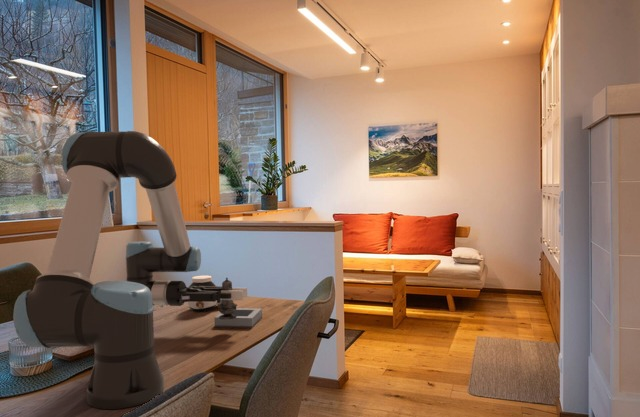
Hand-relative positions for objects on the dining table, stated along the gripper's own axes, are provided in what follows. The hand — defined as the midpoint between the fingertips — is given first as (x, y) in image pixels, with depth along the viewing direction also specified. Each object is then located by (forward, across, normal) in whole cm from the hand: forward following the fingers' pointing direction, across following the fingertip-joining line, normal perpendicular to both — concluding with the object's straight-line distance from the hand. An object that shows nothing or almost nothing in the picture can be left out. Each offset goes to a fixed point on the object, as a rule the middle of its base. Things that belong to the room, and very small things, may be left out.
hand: (244, 294), depth 146 cm
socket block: (-5, -11, -11) cm, 17 cm away
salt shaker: (-5, 0, -7) cm, 9 cm away
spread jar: (-22, -28, -11) cm, 38 cm away
